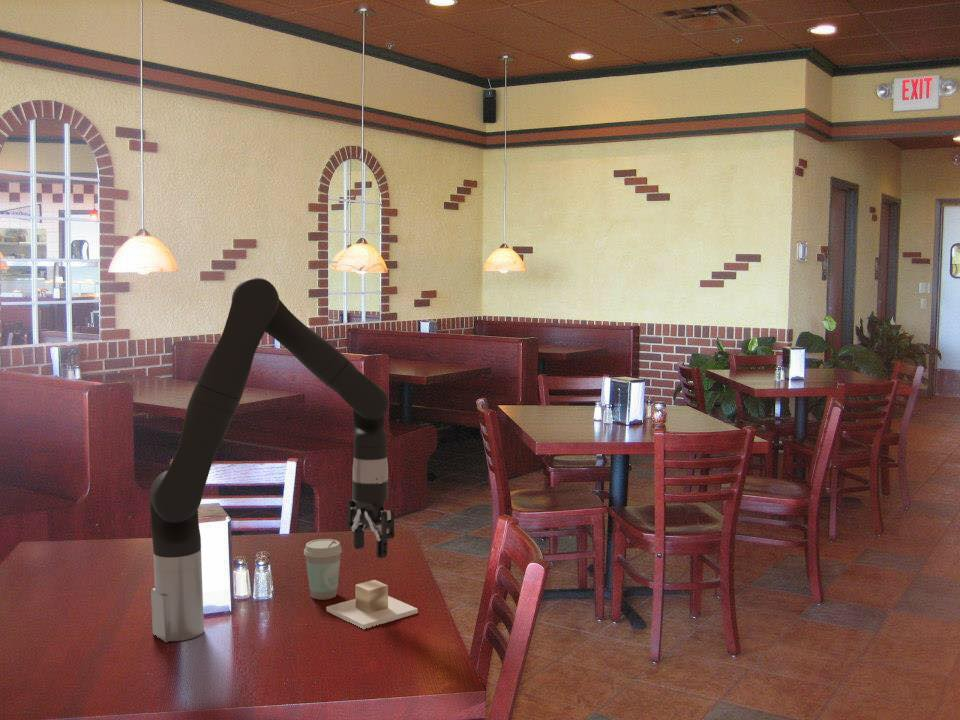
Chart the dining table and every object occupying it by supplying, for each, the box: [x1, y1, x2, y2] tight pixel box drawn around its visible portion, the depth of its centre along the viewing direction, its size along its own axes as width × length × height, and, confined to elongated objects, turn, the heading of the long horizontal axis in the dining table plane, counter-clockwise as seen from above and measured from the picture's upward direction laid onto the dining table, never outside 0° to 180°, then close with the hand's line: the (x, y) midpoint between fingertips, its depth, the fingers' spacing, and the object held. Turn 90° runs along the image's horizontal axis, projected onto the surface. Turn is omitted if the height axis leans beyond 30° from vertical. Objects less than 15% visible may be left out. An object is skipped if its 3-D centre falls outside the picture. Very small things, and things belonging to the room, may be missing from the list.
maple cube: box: [354, 579, 389, 613], centre depth 211 cm, size 5×5×5 cm
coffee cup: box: [303, 538, 343, 601], centre depth 222 cm, size 9×9×12 cm
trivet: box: [325, 595, 418, 630], centre depth 212 cm, size 14×14×1 cm
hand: (370, 552), depth 210 cm, fingers open, 8 cm apart
